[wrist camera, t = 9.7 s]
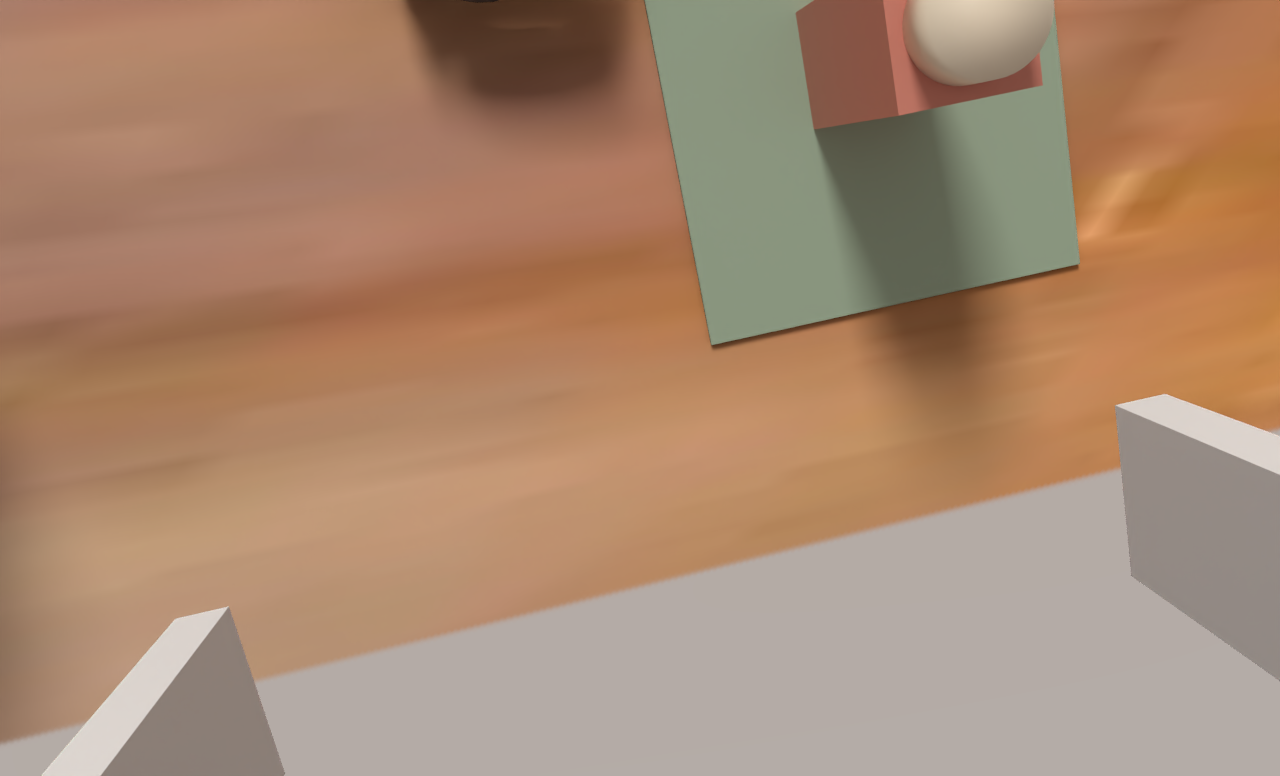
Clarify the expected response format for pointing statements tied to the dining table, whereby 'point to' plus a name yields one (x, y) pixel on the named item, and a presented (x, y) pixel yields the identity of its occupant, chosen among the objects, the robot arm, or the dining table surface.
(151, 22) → the dining table surface
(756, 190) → the felt mat
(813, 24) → the red tall block
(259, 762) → the robot arm
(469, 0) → the pottery mug
